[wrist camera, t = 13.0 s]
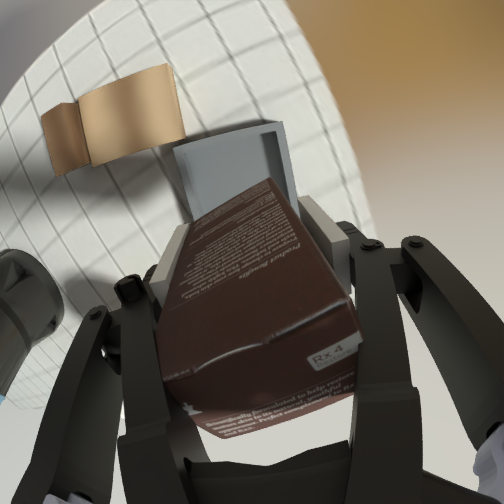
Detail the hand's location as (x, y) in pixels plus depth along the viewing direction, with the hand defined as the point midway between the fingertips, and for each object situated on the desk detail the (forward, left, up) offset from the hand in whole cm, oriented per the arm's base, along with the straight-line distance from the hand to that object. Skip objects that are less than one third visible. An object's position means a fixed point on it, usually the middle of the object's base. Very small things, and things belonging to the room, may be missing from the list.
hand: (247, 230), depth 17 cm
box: (0, 0, -1) cm, 1 cm away
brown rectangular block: (-16, +11, -13) cm, 23 cm away
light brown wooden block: (-9, +11, -14) cm, 19 cm away
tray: (0, 0, -13) cm, 13 cm away
